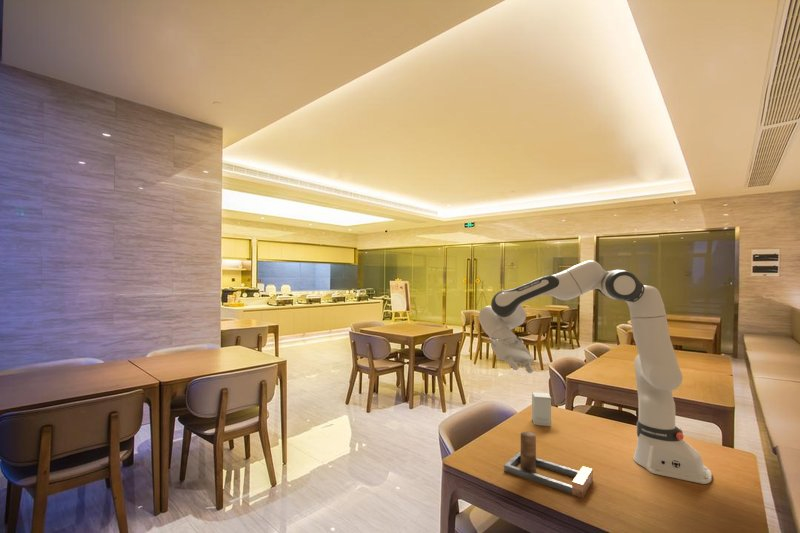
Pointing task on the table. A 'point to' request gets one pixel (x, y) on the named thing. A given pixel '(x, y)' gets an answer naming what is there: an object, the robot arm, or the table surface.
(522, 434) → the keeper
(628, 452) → the table surface
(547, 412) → the supplement box
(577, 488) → the guide track
